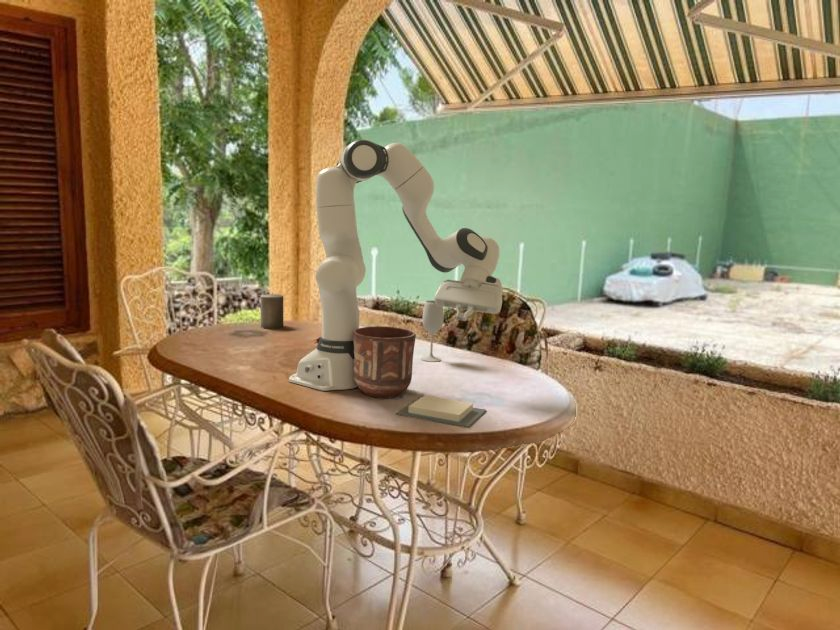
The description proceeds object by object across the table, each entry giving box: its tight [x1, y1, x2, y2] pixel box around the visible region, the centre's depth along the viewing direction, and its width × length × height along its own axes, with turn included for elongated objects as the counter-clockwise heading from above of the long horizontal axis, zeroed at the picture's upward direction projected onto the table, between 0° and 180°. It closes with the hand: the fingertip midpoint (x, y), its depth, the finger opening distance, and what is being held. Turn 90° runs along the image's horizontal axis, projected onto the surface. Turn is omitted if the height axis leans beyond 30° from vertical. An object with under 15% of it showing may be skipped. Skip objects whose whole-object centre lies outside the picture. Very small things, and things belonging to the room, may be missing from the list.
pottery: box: [353, 325, 417, 399], centre depth 180 cm, size 18×18×18 cm
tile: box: [408, 394, 474, 423], centre depth 165 cm, size 14×2×11 cm
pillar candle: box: [260, 292, 285, 330], centre depth 268 cm, size 10×10×15 cm
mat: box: [395, 397, 487, 429], centre depth 166 cm, size 20×15×1 cm
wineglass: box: [420, 300, 445, 363], centre depth 222 cm, size 8×8×21 cm
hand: (460, 319), depth 181 cm, fingers closed
